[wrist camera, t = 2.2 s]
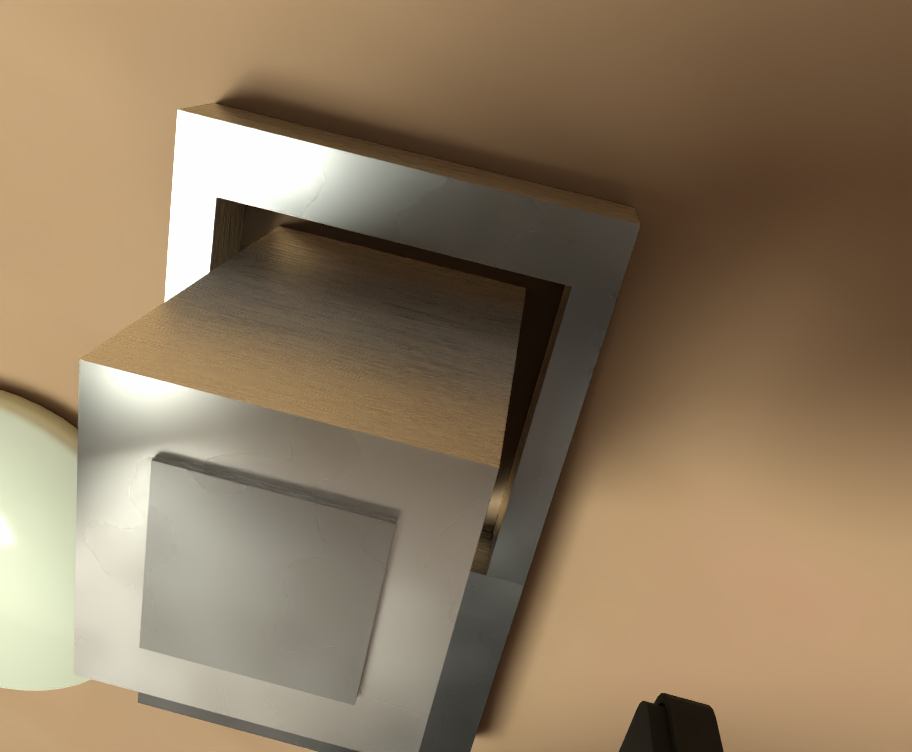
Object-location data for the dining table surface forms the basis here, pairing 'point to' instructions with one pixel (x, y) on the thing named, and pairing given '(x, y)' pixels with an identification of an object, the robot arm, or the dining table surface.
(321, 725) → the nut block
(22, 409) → the cream dome cap
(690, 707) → the robot arm
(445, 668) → the metal rectangular frame
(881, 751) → the dining table surface
